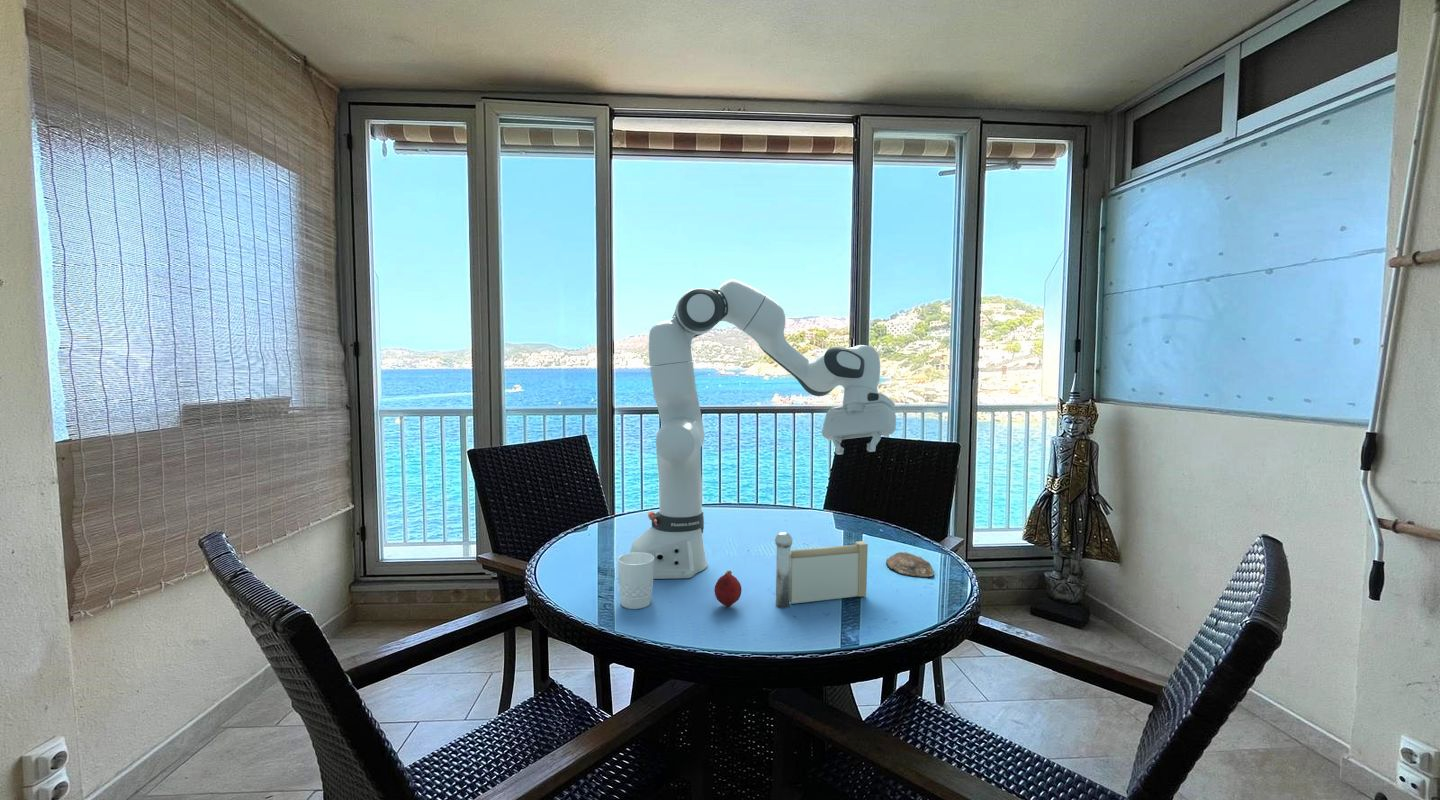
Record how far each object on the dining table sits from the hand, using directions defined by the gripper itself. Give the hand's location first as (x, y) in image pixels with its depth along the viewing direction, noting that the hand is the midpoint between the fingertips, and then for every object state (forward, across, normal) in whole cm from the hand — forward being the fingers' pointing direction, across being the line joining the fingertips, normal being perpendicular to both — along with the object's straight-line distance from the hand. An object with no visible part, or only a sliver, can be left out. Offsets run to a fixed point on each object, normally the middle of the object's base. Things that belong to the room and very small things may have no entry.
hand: (854, 452), depth 140 cm
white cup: (+46, -27, -36) cm, 65 cm away
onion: (+43, -12, -23) cm, 50 cm away
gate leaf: (+37, 0, -5) cm, 37 cm away
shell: (+24, +4, +25) cm, 35 cm away
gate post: (+40, -5, -14) cm, 43 cm away
